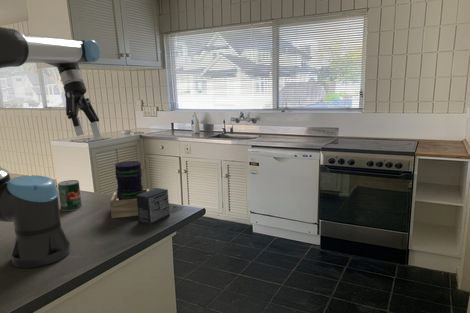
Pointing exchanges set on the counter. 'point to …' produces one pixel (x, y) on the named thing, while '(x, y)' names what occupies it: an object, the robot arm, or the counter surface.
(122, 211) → the open wooden box
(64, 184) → the canned tomato
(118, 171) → the blue metal drum
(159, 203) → the small box
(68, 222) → the counter surface
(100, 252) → the counter surface
